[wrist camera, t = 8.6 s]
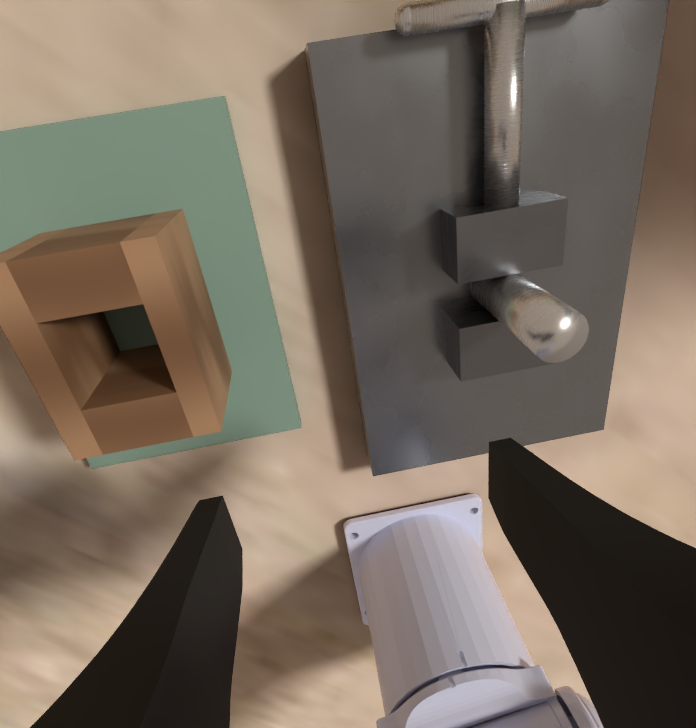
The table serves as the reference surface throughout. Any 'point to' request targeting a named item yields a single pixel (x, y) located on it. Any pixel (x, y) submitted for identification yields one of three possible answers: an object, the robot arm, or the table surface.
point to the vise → (485, 214)
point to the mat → (154, 195)
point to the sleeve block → (97, 343)
